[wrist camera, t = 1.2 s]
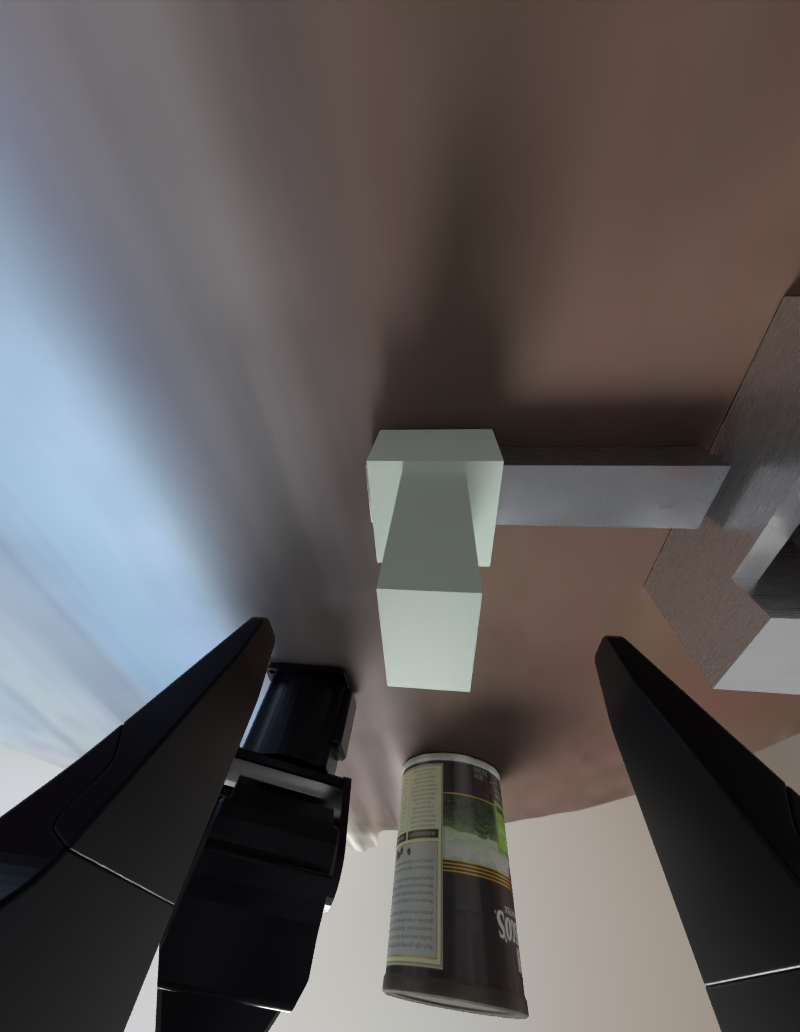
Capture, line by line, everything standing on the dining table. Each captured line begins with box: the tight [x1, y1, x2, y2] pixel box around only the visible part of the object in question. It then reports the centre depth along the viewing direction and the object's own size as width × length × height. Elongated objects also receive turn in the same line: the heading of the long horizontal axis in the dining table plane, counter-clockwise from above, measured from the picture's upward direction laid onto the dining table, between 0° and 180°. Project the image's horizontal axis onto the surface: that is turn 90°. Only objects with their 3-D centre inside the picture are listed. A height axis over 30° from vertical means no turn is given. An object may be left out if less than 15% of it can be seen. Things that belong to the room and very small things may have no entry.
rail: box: [365, 447, 731, 529], centre depth 16 cm, size 14×3×2 cm, turn 93°
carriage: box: [366, 429, 504, 692], centre depth 13 cm, size 5×5×9 cm
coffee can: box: [383, 752, 529, 1019], centre depth 30 cm, size 10×10×14 cm
